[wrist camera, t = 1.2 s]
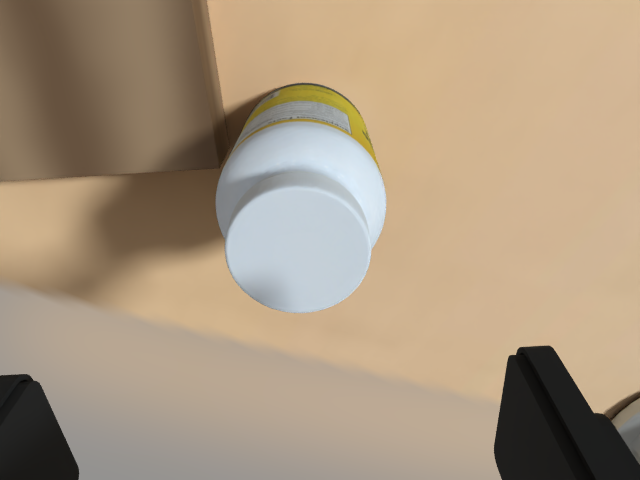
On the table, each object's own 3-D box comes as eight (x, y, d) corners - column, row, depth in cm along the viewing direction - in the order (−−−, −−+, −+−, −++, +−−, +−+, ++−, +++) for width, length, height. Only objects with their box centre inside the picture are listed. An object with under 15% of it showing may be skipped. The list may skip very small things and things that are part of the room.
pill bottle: (328, 219, 28) (334, 362, 18) (223, 165, 27) (163, 289, 16) (392, 119, 25) (442, 221, 15) (279, 52, 24) (250, 117, 14)
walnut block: (185, -137, 20) (165, -153, 18) (229, 147, 26) (219, 168, 23) (-103, -115, 21) (-165, -127, 18) (4, 161, 26) (-31, 183, 24)
